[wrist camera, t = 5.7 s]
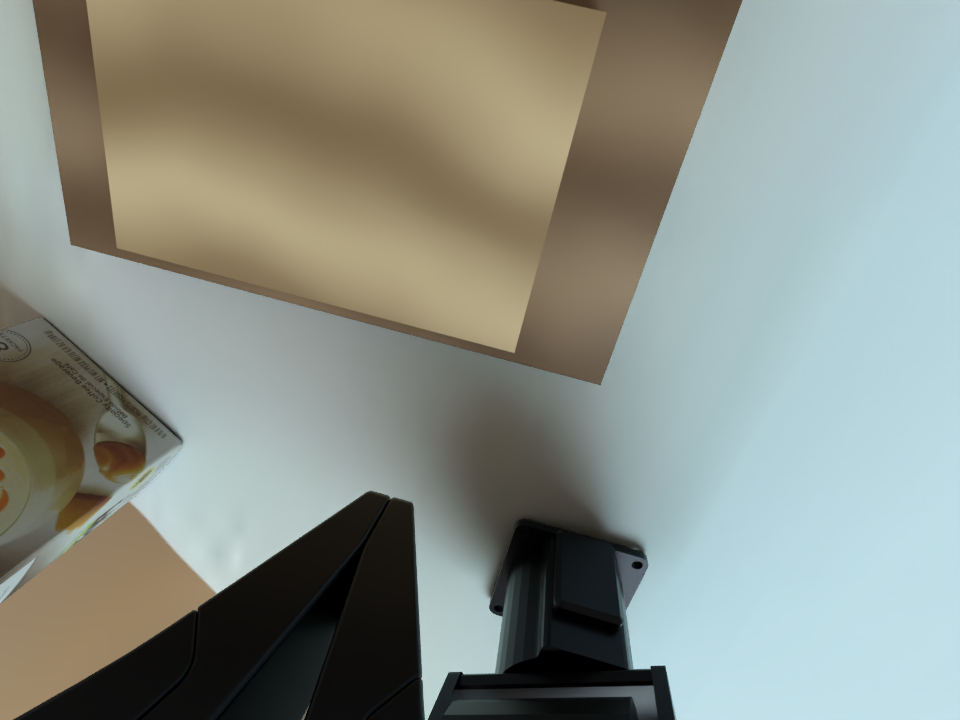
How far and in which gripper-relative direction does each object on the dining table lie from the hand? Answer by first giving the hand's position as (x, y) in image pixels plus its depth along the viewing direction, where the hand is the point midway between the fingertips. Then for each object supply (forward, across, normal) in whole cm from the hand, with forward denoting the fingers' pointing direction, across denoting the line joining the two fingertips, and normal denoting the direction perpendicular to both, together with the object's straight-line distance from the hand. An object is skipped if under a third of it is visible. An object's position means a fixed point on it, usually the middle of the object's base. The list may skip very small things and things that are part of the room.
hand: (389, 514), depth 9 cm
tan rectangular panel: (+10, +6, -5) cm, 13 cm away
